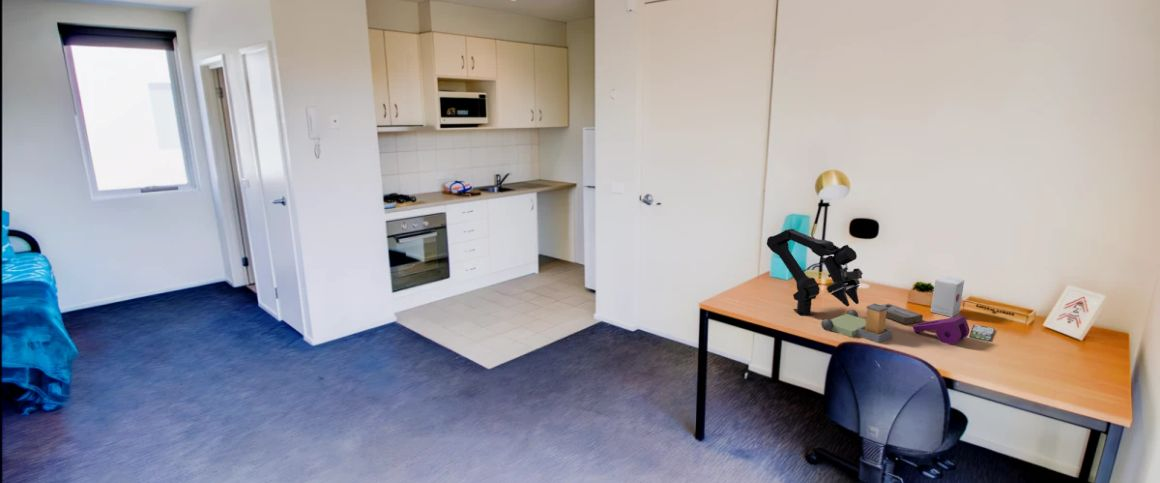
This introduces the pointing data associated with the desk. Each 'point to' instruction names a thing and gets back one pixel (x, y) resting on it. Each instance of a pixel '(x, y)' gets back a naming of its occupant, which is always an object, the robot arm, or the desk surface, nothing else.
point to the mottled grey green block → (982, 333)
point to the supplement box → (947, 296)
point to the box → (902, 314)
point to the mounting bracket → (946, 329)
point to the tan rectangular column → (876, 318)
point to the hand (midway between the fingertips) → (853, 304)
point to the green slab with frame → (854, 327)
